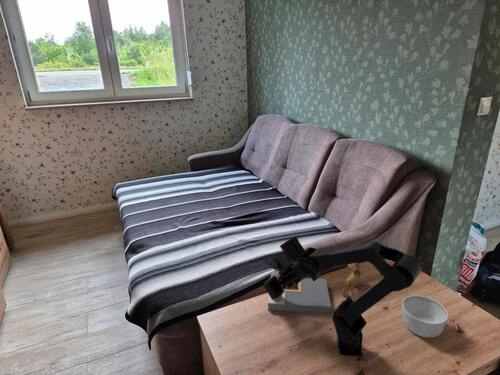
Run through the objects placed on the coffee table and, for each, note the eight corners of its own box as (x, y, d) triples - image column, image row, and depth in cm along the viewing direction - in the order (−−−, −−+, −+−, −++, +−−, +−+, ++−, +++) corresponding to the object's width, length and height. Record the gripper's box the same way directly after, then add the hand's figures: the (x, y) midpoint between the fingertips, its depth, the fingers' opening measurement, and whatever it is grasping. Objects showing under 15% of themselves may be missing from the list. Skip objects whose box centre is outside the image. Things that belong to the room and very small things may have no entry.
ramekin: (448, 346, 93) (453, 328, 91) (401, 335, 98) (403, 318, 95) (440, 316, 105) (443, 299, 102) (397, 307, 109) (400, 291, 107)
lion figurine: (347, 276, 127) (348, 258, 124) (360, 280, 125) (362, 261, 122) (340, 298, 115) (342, 278, 112) (355, 302, 113) (357, 282, 110)
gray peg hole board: (325, 285, 123) (325, 278, 122) (330, 313, 108) (330, 306, 107) (270, 282, 125) (270, 275, 124) (268, 310, 110) (267, 302, 109)
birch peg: (282, 294, 113) (282, 271, 110) (282, 301, 110) (281, 277, 106) (271, 293, 114) (271, 270, 111) (270, 301, 110) (270, 277, 107)
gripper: (301, 239, 108) (277, 255, 119) (267, 262, 96) (243, 277, 107) (319, 266, 106) (293, 280, 117) (287, 293, 93) (261, 306, 104)
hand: (273, 285), depth 111 cm, fingers closed on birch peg, 4 cm apart
